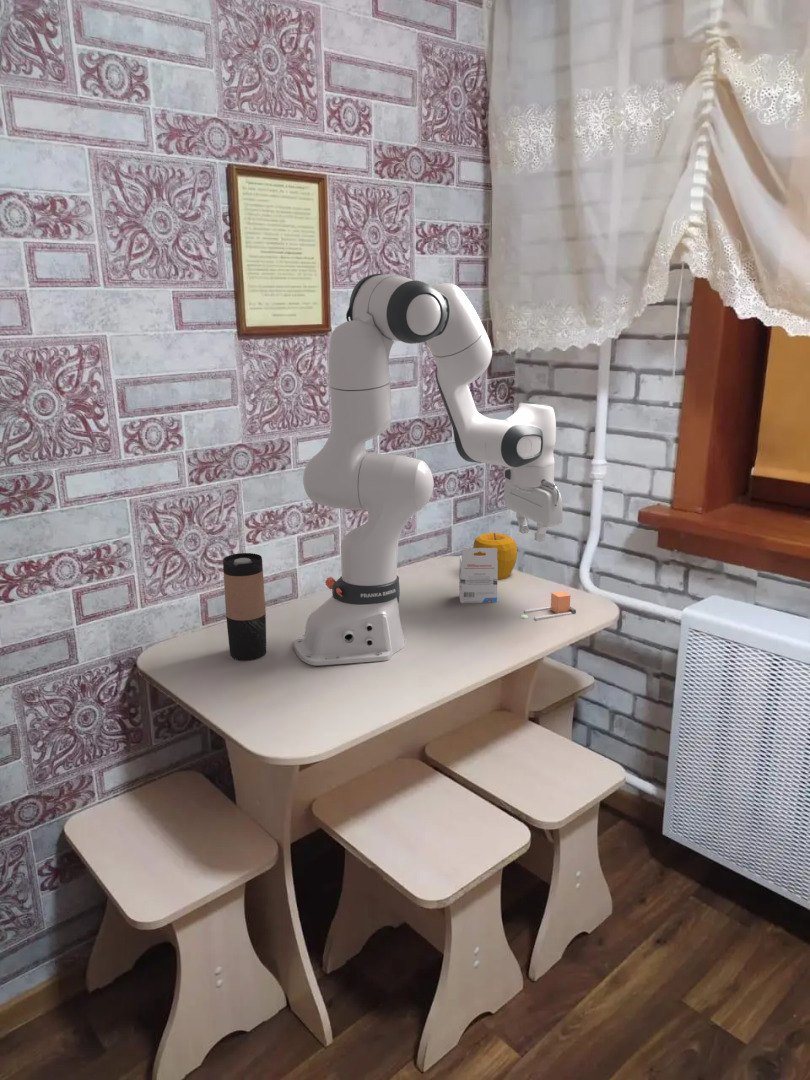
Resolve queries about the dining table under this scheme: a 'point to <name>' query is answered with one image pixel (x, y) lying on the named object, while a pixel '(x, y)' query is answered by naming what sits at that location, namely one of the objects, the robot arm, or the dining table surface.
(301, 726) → the dining table surface
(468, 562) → the ink box
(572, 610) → the breaker panel
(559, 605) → the block
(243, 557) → the travel mug
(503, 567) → the apple
